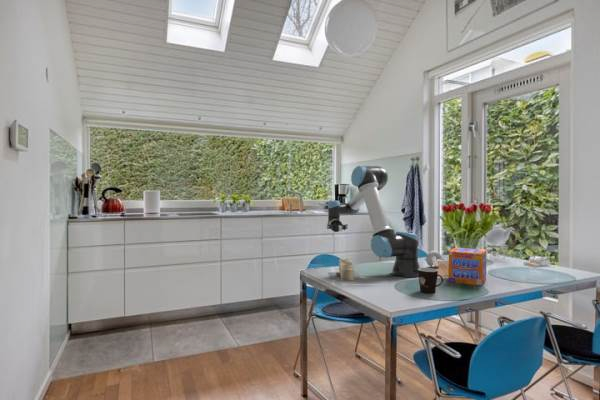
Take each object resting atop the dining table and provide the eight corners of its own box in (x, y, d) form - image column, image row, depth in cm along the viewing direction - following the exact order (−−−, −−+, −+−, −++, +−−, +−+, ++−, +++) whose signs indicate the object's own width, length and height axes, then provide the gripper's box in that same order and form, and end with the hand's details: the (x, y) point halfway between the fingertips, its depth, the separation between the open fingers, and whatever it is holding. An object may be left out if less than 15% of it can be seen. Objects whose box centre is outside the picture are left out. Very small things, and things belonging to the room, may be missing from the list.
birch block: (350, 259, 193) (354, 269, 182) (349, 269, 195) (353, 280, 183) (339, 259, 193) (342, 269, 181) (338, 269, 195) (341, 280, 183)
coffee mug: (414, 289, 168) (414, 267, 167) (432, 289, 168) (432, 267, 168) (425, 296, 156) (425, 273, 156) (444, 296, 157) (444, 273, 157)
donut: (440, 266, 220) (440, 250, 220) (443, 267, 217) (443, 250, 217) (424, 267, 219) (425, 250, 218) (427, 268, 215) (428, 251, 215)
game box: (482, 286, 174) (482, 253, 174) (448, 281, 182) (448, 251, 182) (486, 279, 187) (486, 249, 187) (454, 276, 195) (454, 247, 195)
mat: (356, 273, 201) (356, 269, 201) (362, 280, 185) (362, 275, 185) (327, 273, 200) (327, 269, 200) (331, 280, 184) (331, 275, 184)
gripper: (346, 231, 229) (352, 235, 206) (325, 231, 229) (329, 235, 205) (346, 219, 229) (352, 222, 206) (325, 219, 229) (329, 222, 205)
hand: (341, 228), depth 206 cm, fingers closed
